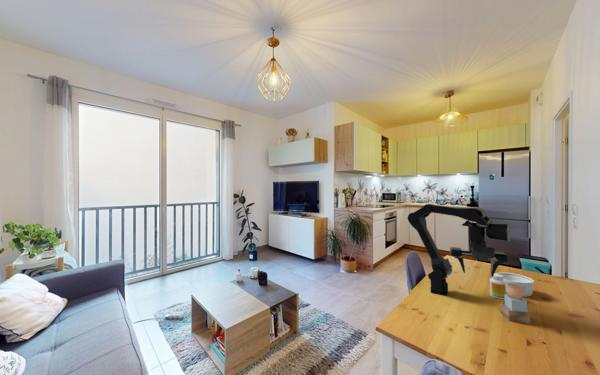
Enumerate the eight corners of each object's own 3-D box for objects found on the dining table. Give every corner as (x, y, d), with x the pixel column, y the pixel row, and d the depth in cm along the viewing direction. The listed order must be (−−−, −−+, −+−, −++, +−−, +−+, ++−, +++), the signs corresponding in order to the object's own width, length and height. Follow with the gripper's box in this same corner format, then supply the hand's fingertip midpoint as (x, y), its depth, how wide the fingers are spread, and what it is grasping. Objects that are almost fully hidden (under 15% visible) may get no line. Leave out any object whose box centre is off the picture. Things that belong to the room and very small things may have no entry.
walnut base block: (509, 321, 81) (508, 310, 81) (500, 313, 87) (500, 302, 87) (530, 324, 79) (529, 313, 79) (520, 315, 85) (519, 305, 85)
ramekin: (503, 295, 101) (502, 280, 101) (490, 284, 113) (490, 270, 113) (541, 300, 96) (541, 284, 96) (524, 288, 108) (524, 274, 108)
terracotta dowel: (509, 298, 82) (509, 287, 82) (506, 293, 86) (506, 283, 86) (524, 300, 80) (524, 289, 80) (520, 296, 84) (520, 285, 84)
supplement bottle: (509, 300, 97) (508, 277, 97) (494, 299, 98) (494, 276, 98) (500, 294, 102) (500, 273, 102) (487, 293, 103) (486, 272, 103)
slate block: (511, 310, 81) (511, 299, 81) (504, 304, 85) (504, 294, 85) (527, 312, 80) (527, 301, 80) (519, 306, 84) (518, 295, 84)
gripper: (451, 238, 91) (452, 277, 91) (512, 243, 82) (514, 286, 82) (449, 234, 101) (450, 268, 101) (503, 238, 92) (504, 276, 91)
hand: (477, 274), depth 93 cm, fingers open, 9 cm apart
